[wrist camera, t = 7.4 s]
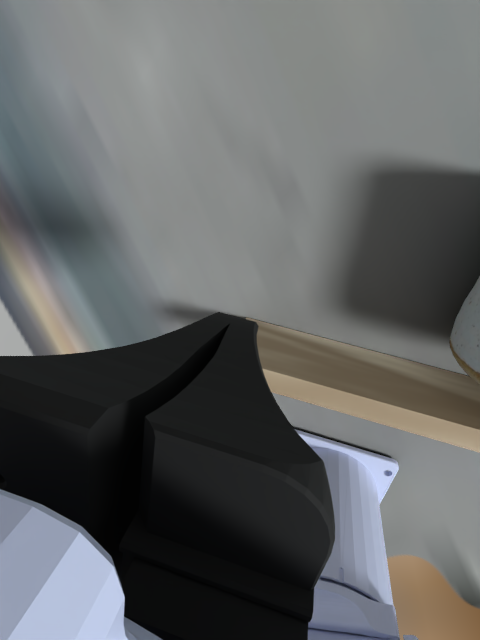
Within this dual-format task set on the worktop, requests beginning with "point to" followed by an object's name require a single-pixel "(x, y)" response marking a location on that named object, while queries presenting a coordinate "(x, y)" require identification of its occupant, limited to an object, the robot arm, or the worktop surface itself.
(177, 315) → the worktop surface
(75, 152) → the worktop surface
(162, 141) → the worktop surface
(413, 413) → the brown wooden pieces
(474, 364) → the ceramic mug
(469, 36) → the worktop surface
